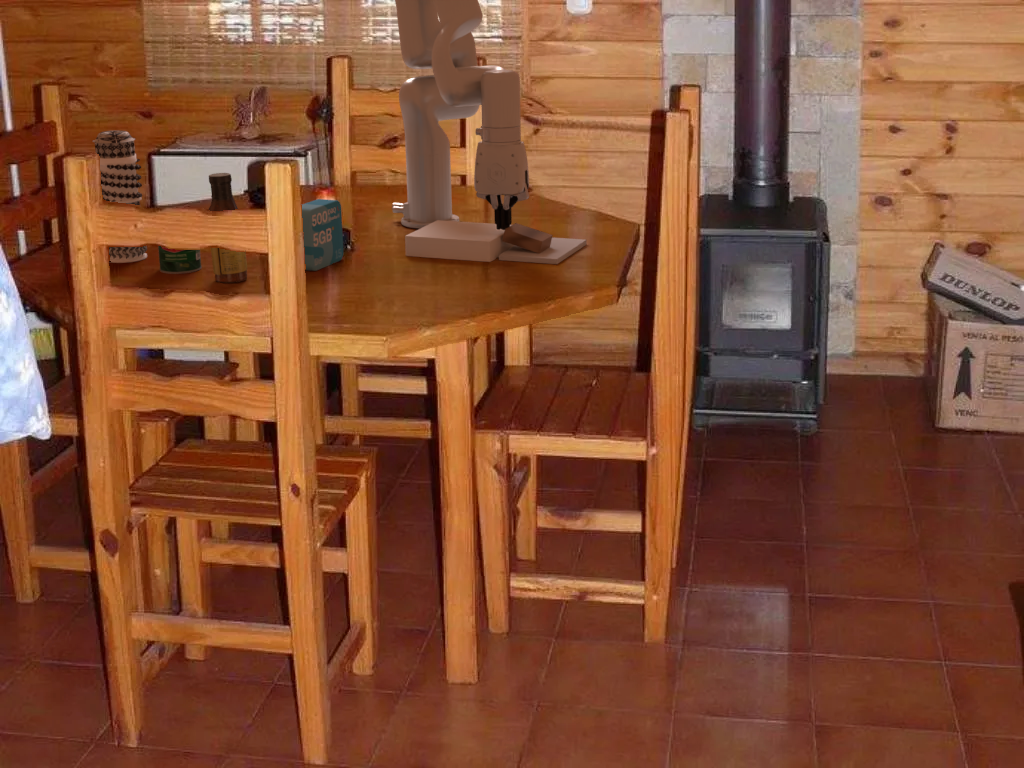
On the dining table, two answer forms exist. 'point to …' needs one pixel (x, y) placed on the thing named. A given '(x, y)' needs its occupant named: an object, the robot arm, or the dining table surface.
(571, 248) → the mat
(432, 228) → the deck
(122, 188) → the decorative candle
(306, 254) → the data package
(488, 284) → the dining table surface
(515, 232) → the tile
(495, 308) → the dining table surface
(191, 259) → the canned tomato
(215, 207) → the sauce bottle
